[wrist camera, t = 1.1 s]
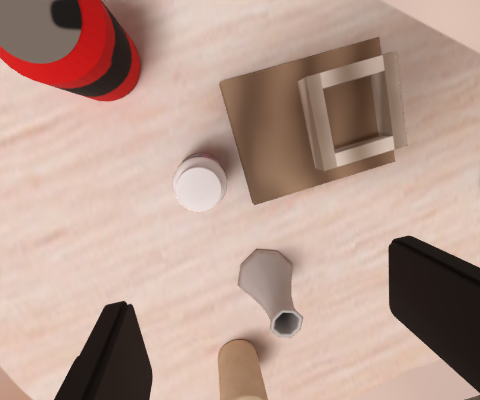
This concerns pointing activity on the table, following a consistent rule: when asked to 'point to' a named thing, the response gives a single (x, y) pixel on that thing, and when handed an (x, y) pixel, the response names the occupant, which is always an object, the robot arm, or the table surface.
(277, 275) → the flask
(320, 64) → the socket board
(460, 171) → the table surface
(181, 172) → the pill bottle
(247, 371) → the candle
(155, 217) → the table surface
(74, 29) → the soda can
